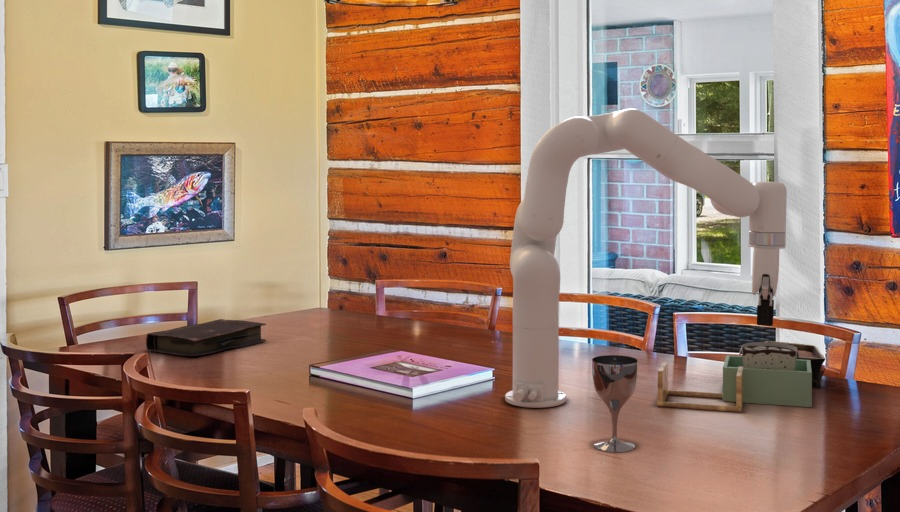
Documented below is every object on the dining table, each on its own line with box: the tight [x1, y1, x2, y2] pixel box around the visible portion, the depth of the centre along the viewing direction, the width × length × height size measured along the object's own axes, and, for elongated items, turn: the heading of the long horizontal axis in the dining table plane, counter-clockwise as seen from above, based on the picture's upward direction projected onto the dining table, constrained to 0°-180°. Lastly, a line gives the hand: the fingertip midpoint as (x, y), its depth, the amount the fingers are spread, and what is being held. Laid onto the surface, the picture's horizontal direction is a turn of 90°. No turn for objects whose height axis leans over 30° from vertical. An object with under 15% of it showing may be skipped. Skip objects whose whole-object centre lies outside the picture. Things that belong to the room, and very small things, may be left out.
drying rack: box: [656, 361, 744, 413], centre depth 198 cm, size 11×17×7 cm, turn 74°
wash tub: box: [722, 354, 813, 408], centre depth 203 cm, size 13×18×7 cm
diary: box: [145, 318, 267, 357], centre depth 255 cm, size 19×25×5 cm
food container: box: [738, 341, 800, 371], centre depth 203 cm, size 12×6×10 cm, turn 84°
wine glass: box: [591, 354, 639, 453], centre depth 169 cm, size 8×8×15 cm
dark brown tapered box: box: [765, 340, 826, 388], centre depth 218 cm, size 14×18×10 cm
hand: (765, 321), depth 203 cm, fingers open, 9 cm apart
